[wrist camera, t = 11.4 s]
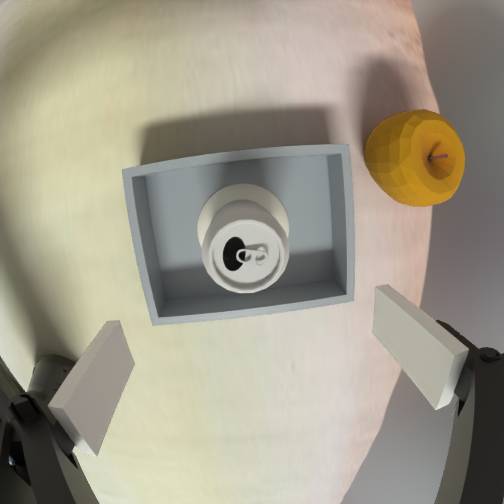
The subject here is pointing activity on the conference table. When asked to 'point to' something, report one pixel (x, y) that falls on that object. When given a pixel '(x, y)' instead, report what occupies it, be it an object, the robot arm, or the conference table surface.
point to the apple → (415, 157)
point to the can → (245, 247)
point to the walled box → (265, 194)
